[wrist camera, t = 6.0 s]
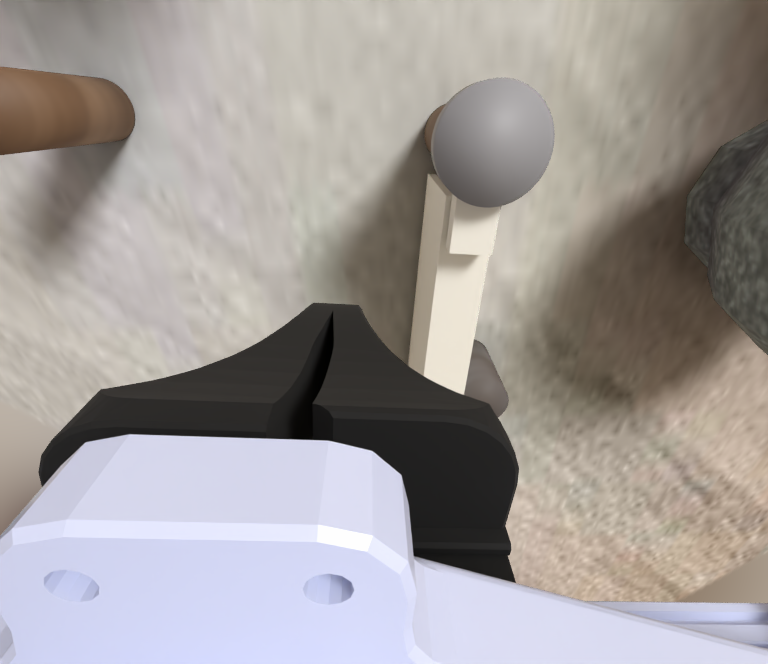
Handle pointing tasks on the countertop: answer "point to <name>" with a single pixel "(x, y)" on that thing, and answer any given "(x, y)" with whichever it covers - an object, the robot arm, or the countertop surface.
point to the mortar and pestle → (735, 230)
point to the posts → (114, 123)
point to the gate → (471, 213)
